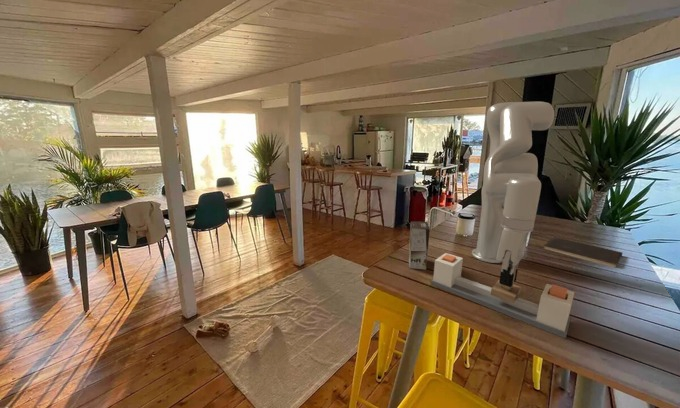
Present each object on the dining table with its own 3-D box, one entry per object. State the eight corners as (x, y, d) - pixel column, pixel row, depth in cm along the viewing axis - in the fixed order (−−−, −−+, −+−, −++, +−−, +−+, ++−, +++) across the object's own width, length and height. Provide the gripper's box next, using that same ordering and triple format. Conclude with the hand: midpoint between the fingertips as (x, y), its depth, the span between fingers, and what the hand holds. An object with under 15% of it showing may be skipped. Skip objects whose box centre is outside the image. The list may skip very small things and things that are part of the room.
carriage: (497, 285, 85) (502, 255, 83) (520, 292, 81) (525, 262, 79) (490, 294, 81) (495, 263, 78) (513, 303, 76) (519, 270, 74)
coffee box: (426, 270, 103) (430, 229, 99) (409, 268, 104) (411, 228, 100) (424, 259, 111) (427, 221, 107) (408, 257, 113) (410, 220, 109)
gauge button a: (445, 263, 94) (446, 254, 93) (454, 266, 92) (456, 257, 91) (441, 266, 92) (442, 257, 91) (450, 270, 90) (452, 260, 89)
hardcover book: (615, 269, 104) (616, 263, 103) (542, 249, 121) (543, 245, 120) (621, 257, 113) (622, 252, 113) (553, 240, 131) (554, 236, 130)
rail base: (442, 274, 99) (444, 251, 97) (570, 321, 75) (577, 292, 72) (430, 284, 93) (432, 260, 91) (565, 338, 69) (573, 307, 66)
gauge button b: (550, 295, 74) (552, 284, 74) (565, 300, 72) (567, 288, 71) (547, 300, 72) (550, 288, 71) (563, 305, 70) (566, 293, 69)
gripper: (510, 213, 83) (501, 268, 88) (492, 226, 72) (483, 288, 77) (540, 219, 78) (529, 276, 83) (526, 233, 67) (514, 299, 72)
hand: (507, 281), depth 80 cm, fingers closed on carriage, 3 cm apart
